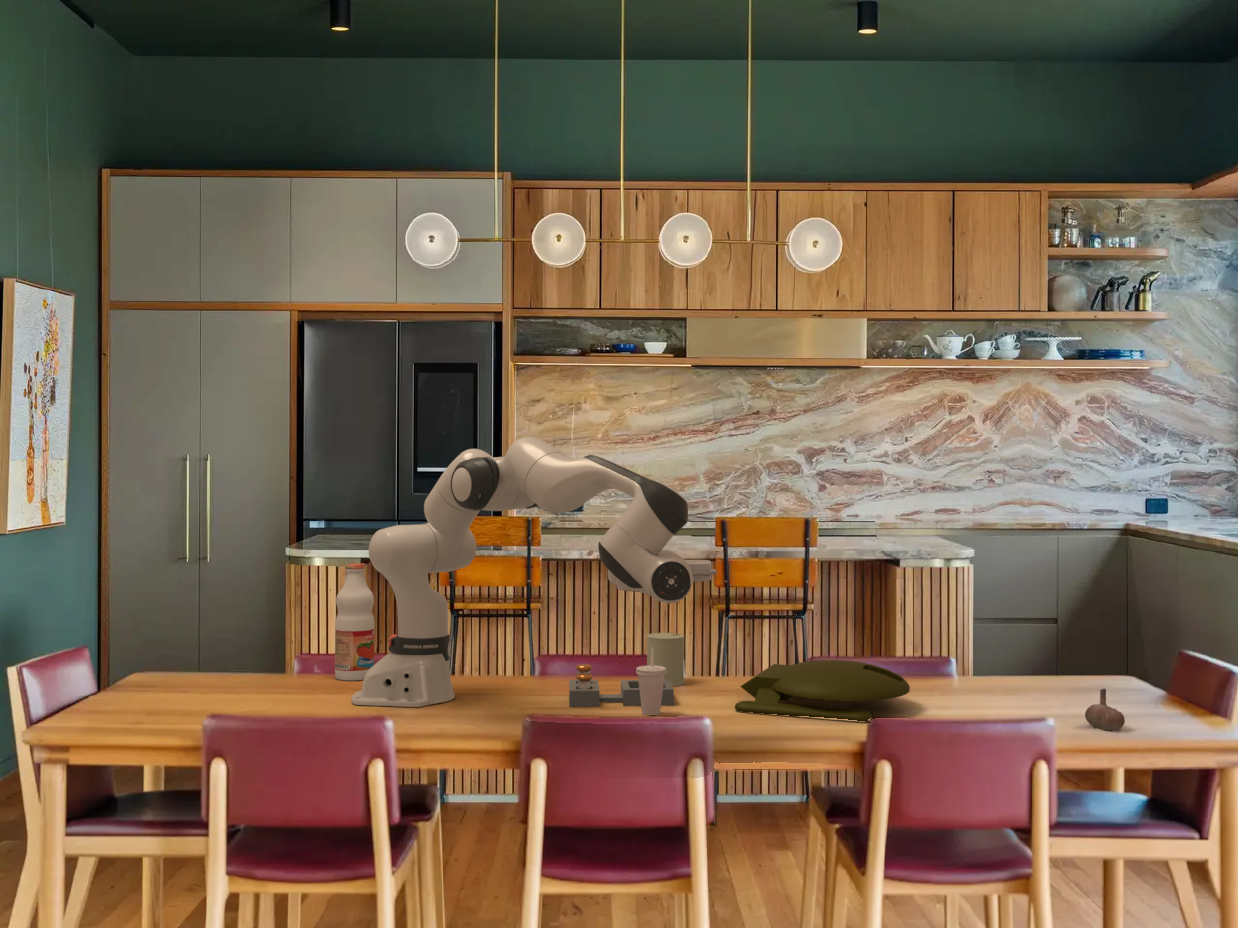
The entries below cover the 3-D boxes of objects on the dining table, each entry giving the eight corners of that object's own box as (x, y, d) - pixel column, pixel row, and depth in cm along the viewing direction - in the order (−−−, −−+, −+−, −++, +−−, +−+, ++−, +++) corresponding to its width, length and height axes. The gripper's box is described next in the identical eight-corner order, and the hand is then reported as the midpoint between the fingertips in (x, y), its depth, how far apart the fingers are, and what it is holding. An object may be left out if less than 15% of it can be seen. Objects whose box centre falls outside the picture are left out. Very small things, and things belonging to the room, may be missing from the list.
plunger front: (576, 702, 240) (576, 676, 240) (576, 698, 243) (576, 673, 243) (592, 702, 240) (592, 676, 240) (591, 698, 243) (591, 673, 243)
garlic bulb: (1082, 723, 225) (1082, 683, 225) (1121, 725, 223) (1121, 686, 223) (1087, 731, 218) (1087, 690, 218) (1127, 733, 216) (1127, 693, 216)
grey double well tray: (569, 706, 238) (569, 690, 238) (569, 694, 251) (569, 679, 251) (674, 706, 239) (674, 690, 239) (668, 694, 252) (668, 679, 252)
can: (692, 684, 264) (692, 634, 264) (661, 688, 259) (661, 637, 259) (669, 678, 272) (669, 629, 272) (638, 682, 267) (638, 632, 267)
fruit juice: (341, 673, 276) (342, 562, 276) (378, 674, 275) (379, 562, 275) (329, 680, 266) (330, 565, 266) (367, 681, 266) (368, 565, 266)
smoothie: (645, 718, 227) (645, 650, 227) (630, 712, 232) (630, 646, 233) (671, 715, 230) (672, 648, 230) (656, 709, 236) (656, 644, 236)
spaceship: (731, 714, 233) (731, 668, 234) (766, 688, 262) (766, 646, 262) (900, 729, 221) (900, 680, 221) (917, 699, 249) (917, 656, 249)
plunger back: (576, 691, 246) (576, 666, 246) (576, 688, 249) (576, 664, 249) (591, 691, 246) (591, 666, 246) (591, 688, 249) (591, 664, 249)
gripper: (718, 556, 206) (708, 551, 220) (609, 556, 205) (606, 551, 219) (718, 590, 206) (708, 582, 220) (609, 590, 205) (606, 582, 219)
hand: (657, 566), depth 219 cm, fingers open, 8 cm apart
